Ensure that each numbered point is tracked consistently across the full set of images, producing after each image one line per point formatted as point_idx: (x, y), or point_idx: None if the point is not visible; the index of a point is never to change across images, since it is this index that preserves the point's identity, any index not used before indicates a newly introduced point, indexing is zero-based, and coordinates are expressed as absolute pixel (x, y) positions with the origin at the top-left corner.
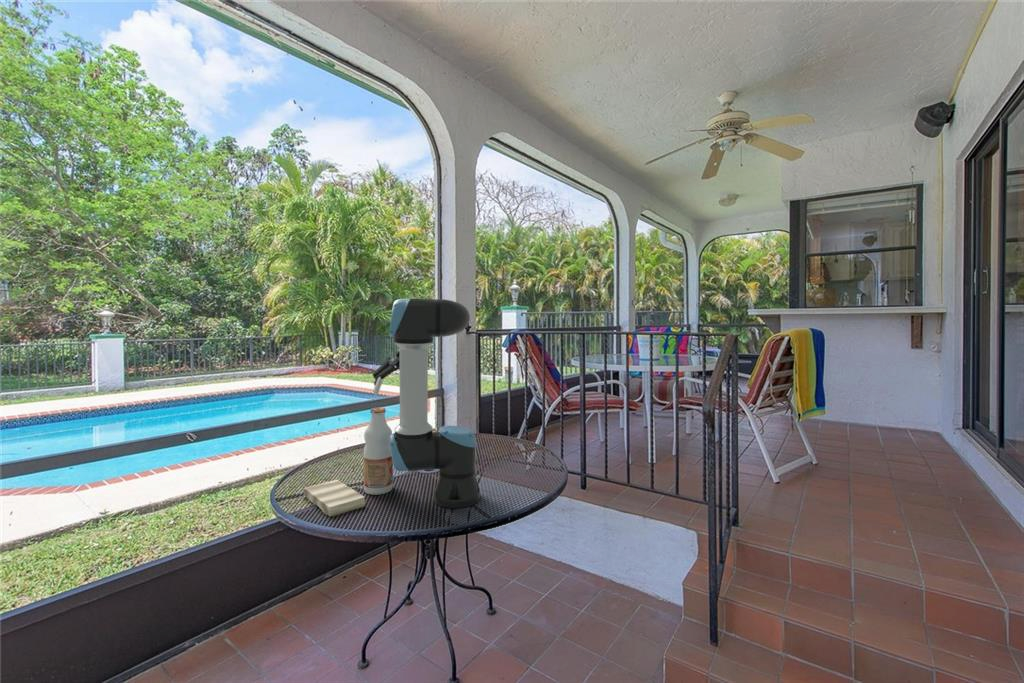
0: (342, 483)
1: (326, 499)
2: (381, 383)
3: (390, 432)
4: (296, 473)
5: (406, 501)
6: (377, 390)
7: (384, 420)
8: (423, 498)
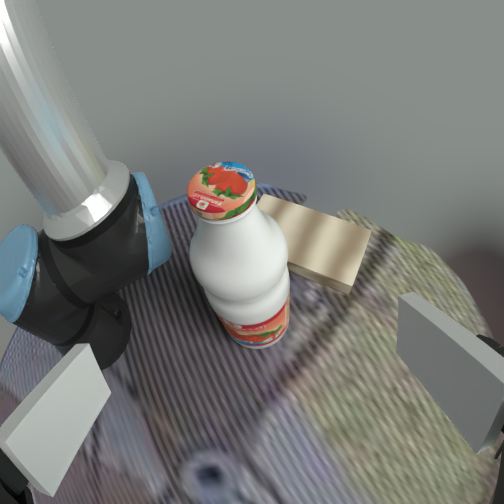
0: (323, 273)
1: (291, 210)
2: (460, 422)
3: (189, 254)
4: (477, 316)
5: (173, 292)
6: (414, 346)
7: (197, 218)
8: (149, 313)
